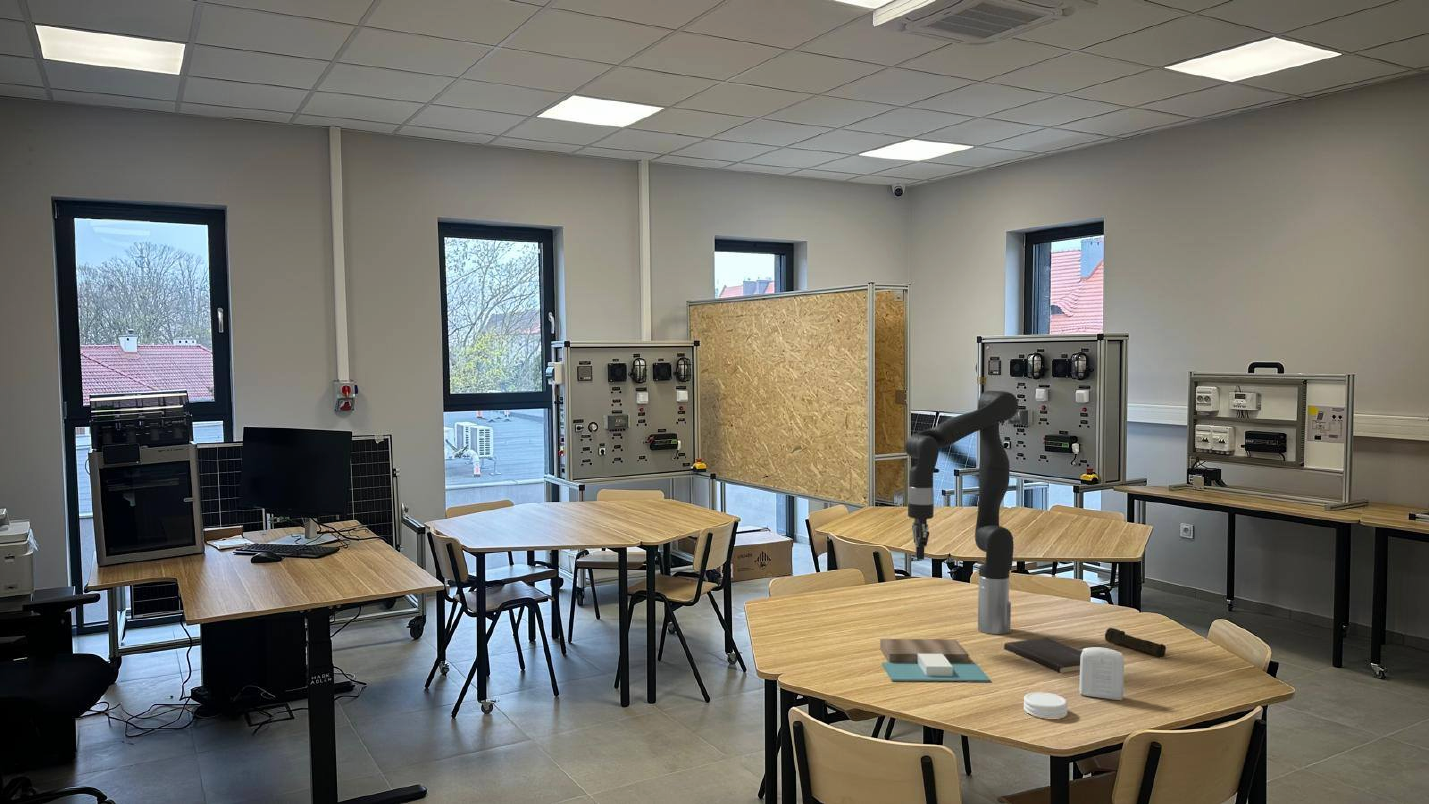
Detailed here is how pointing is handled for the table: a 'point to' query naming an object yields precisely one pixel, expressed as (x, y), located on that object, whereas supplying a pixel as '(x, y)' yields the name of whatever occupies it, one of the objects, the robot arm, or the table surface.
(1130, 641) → the hand tool
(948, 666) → the white flat block
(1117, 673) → the white upright block
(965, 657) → the deck
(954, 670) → the mat
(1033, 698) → the white disc stack
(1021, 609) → the table surface
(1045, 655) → the hardcover book
